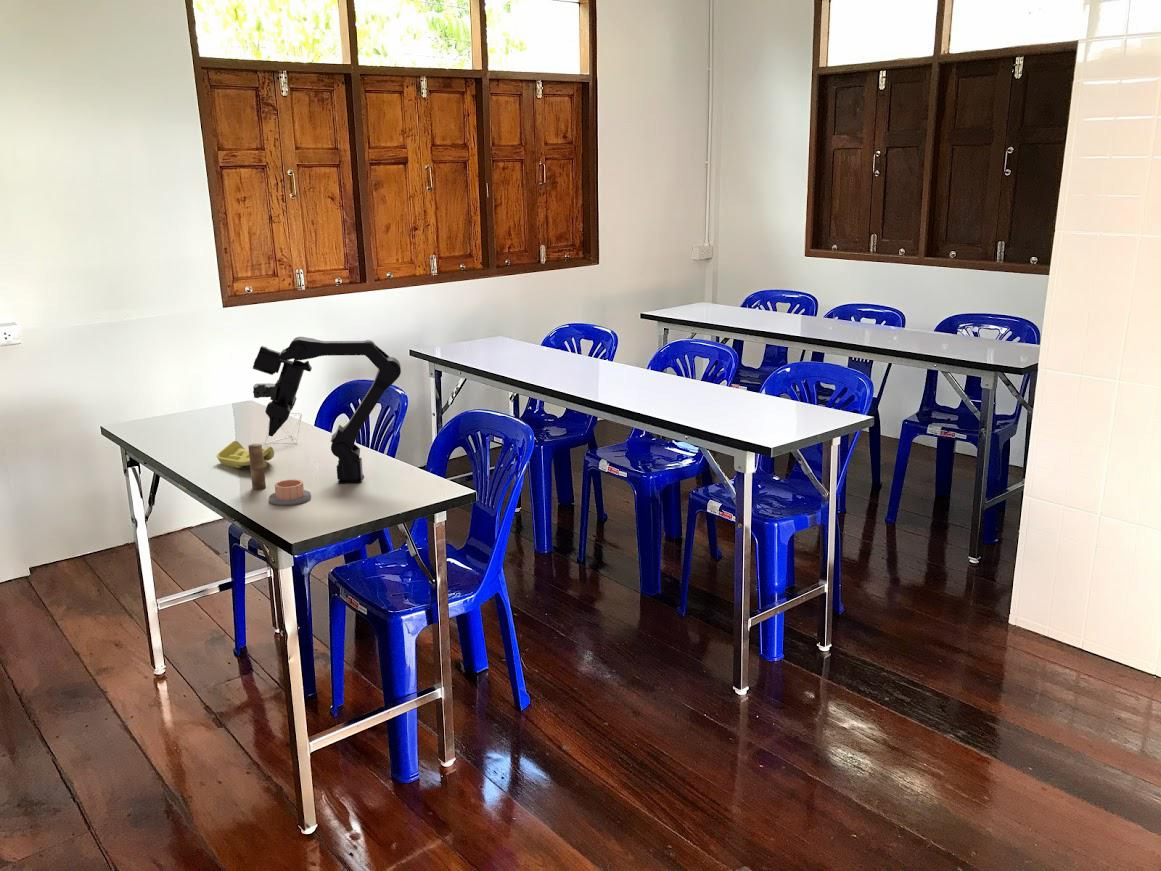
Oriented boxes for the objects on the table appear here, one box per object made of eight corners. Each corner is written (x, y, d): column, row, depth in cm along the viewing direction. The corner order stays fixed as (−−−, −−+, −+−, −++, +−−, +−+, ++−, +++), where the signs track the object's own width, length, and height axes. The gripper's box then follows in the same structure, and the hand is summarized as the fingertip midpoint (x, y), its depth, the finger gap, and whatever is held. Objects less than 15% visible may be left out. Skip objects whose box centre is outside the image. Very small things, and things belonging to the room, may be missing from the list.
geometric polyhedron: (266, 447, 316) (264, 420, 313) (263, 439, 325) (261, 413, 323) (305, 443, 320) (304, 417, 318) (301, 435, 330) (299, 409, 328)
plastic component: (213, 457, 296) (237, 437, 302) (226, 475, 300) (249, 455, 306) (249, 463, 284) (274, 443, 290) (261, 483, 288) (286, 462, 294)
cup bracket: (314, 492, 270) (313, 476, 269) (306, 505, 259) (305, 489, 258) (274, 493, 269) (273, 478, 268) (264, 506, 258) (263, 490, 257)
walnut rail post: (267, 485, 276) (263, 443, 273) (264, 489, 272) (260, 446, 269) (254, 486, 275) (250, 443, 272) (251, 490, 272) (246, 447, 269)
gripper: (265, 364, 277) (248, 414, 280) (255, 378, 259) (238, 431, 262) (303, 377, 280) (287, 426, 283) (296, 391, 262) (279, 444, 265)
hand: (272, 431), depth 273 cm, fingers open, 9 cm apart
